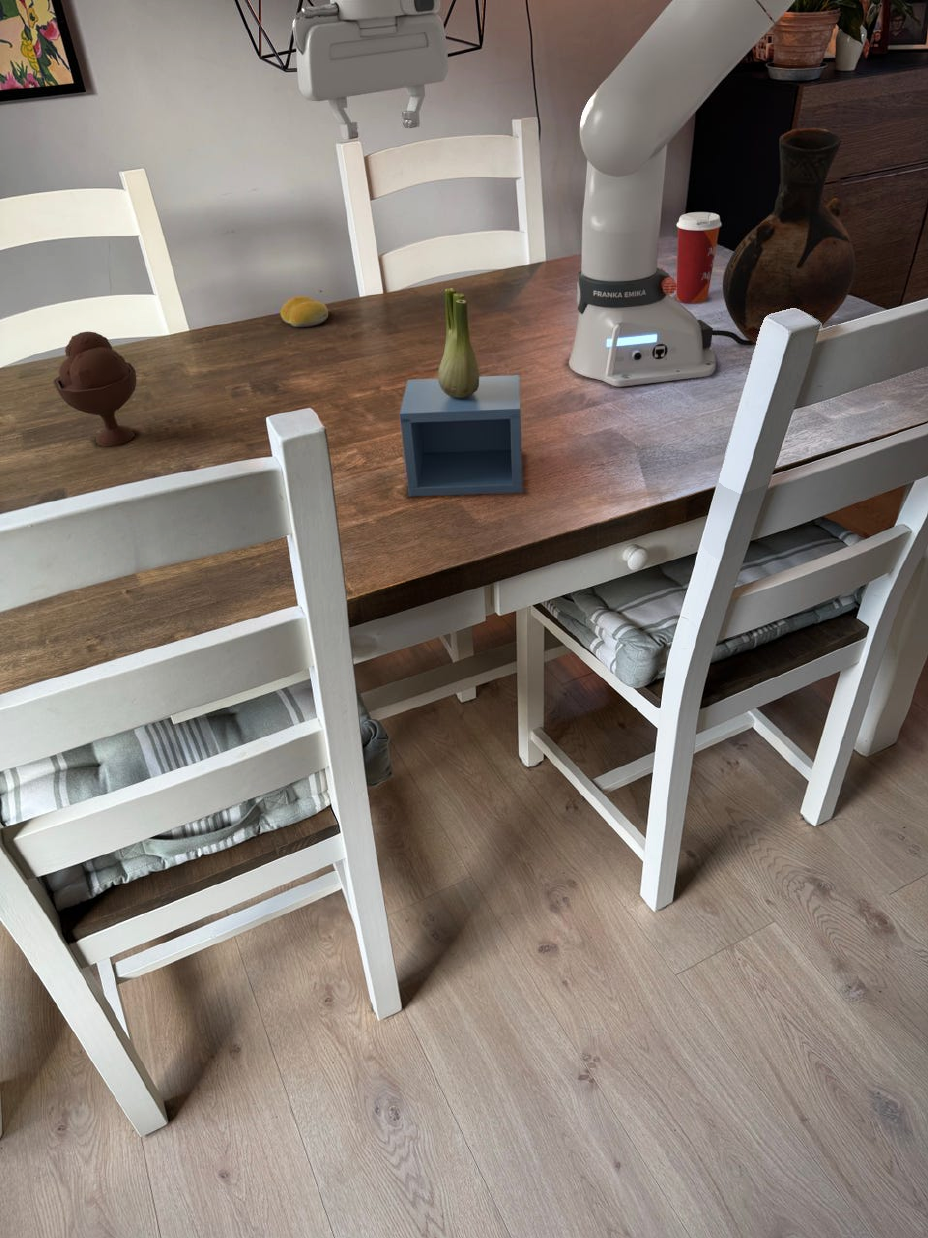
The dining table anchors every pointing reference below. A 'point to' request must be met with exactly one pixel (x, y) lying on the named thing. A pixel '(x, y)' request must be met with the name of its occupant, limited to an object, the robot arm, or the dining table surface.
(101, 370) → the ice cream bowl
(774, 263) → the ceramic vessel
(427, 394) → the box
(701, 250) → the paper cup
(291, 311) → the bread roll
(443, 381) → the fennel bulb
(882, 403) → the dining table surface
